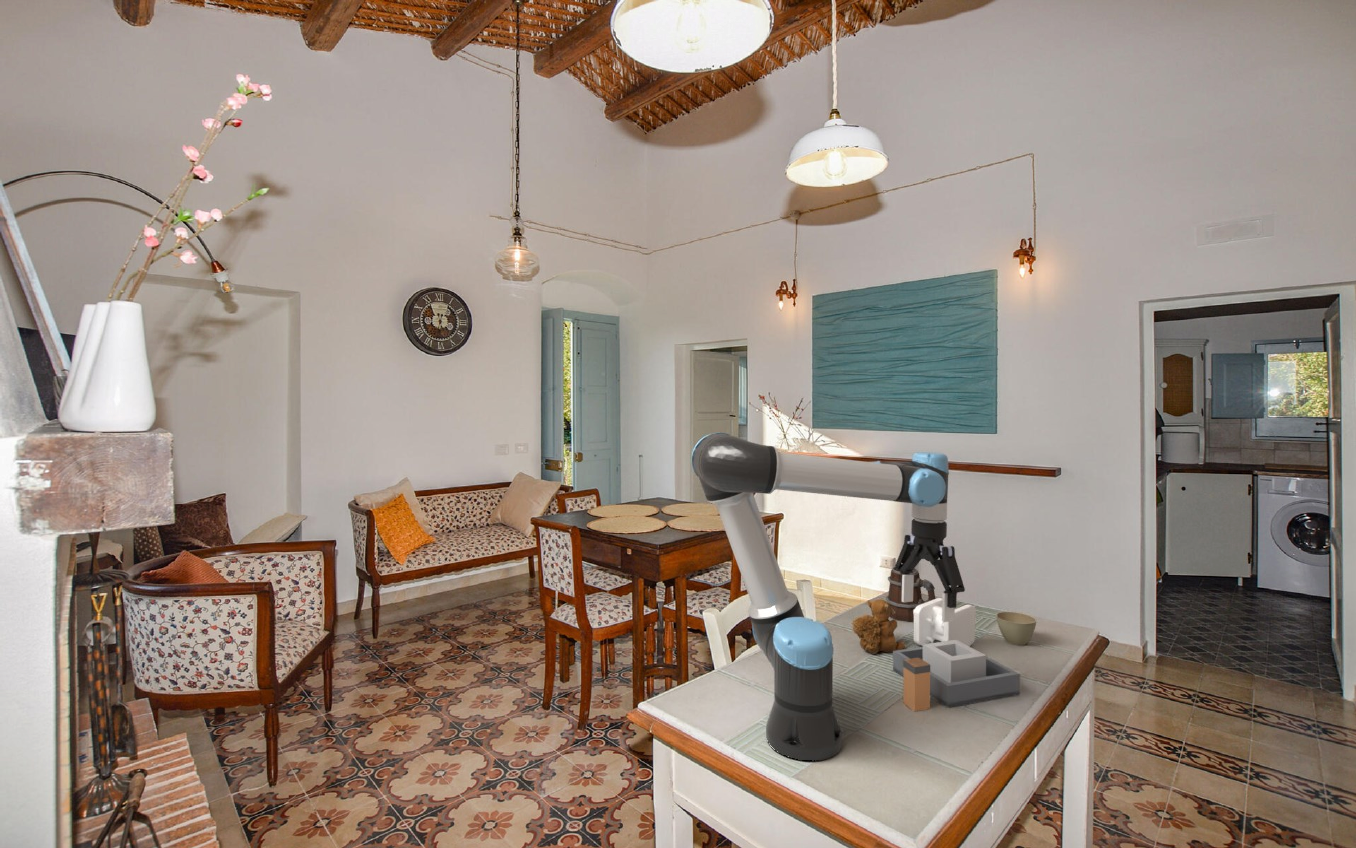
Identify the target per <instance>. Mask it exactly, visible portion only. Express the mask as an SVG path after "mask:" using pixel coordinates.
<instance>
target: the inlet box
mask: <svg viewBox="0 0 1356 848" xmlns="http://www.w3.org/2000/svg"><path fill="white" fill-rule="evenodd" d="M918 657H919V658H920V659H922V660H923V661H925V662H927V663H928V664H930V698H932V699H934V700H936V701H937V702H938V703H940V704H941V705H943V706H945V707H946V708H949V709H950V708H955V707H960V706H967V705H971V704H977V703H982V702H987V701H992V700H993V701H994V700H999V699H1004V698H1009V697H1015V696H1020V695H1021V694H1020V693H1021V692H1020V691H1021V687H1020V685H1021V683H1020V682H1021V674H1020V673H1019V672H1017V671H1015V670H1013V669H1012V668H1010V667H1008V666H1006V665H1004V664H1002V663H1001V662H998V661H996V660H994V659H992V658H991V657H989V656H987V655H986V654H984V653H982V652H980V651H979V650H977V649H975V648H973V647H971V646H970V647H969V646H967V645H965V644H963V643H961V642H959V641H958V640H951V641H944V642H941V641H937V642H933V643H931V642H930V643H929V644H923V646H919V647H918V646H917V647H911V648H905V649H903V650H897V651H893V652H892V659H893V660H892V671H893V672H895V673H896V674H898V675H899V676H901V677H902V678H903V660H905V659H911V658H918Z"/></svg>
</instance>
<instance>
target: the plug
mask: <svg viewBox="0 0 1356 848" xmlns="http://www.w3.org/2000/svg"><path fill="white" fill-rule="evenodd" d="M902 679H903V681H902V682H903V683H902V684H903V688H902V689H903V690H902V691H903V692H902V693H903V694H902V696H903V697H902V698H903V701H902V702H903V704H904V705H905V706H907V707H908V708H910V710H912V711H913V712H919V711H924V710H928V709H929V710H930V709H931V696H930V664H928V663H927V662H925V661H923V660H922V659H920V658H919V657H918V658H911V659H905V660H903V677H902Z"/></svg>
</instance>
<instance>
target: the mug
mask: <svg viewBox="0 0 1356 848" xmlns="http://www.w3.org/2000/svg"><path fill="white" fill-rule="evenodd" d="M909 574H913V575H914V583H913V602H902V586H901V573H900V571H899V570H898V569H896V568H895V566H894V567H892V568H891V570H890V576H888V577H887V581H888V582H889V587H888V588H889V589H888V595H886V597H885V601H886V602H887V603H888V604H889V606H890V607H891V608H892V609H893V610H894V611H893V610H892V611H893V613H894V612H895V613H894V614H893V613H892V611H891V609H890V616H889V618H891V619H892V620H893V619H894V620H896V621H900V622H909V623H911V622H913V623H914V614H913V610H915V608H916V607H917V606H918V605H921V604H923V603H926V602H929V601H931V600H934V599H936V593H935V588H936V587H935V586H934V584H933V583H932V582H931V581H930V580H928V579H926V578H924V579H921V578H920V572H919V570H918V569H917V568H916V567H915V568H914V569H913V573H909ZM922 587H923V589H925V591H927V596H928V598H927V599H926V600H924V599H923V595H922Z"/></svg>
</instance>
